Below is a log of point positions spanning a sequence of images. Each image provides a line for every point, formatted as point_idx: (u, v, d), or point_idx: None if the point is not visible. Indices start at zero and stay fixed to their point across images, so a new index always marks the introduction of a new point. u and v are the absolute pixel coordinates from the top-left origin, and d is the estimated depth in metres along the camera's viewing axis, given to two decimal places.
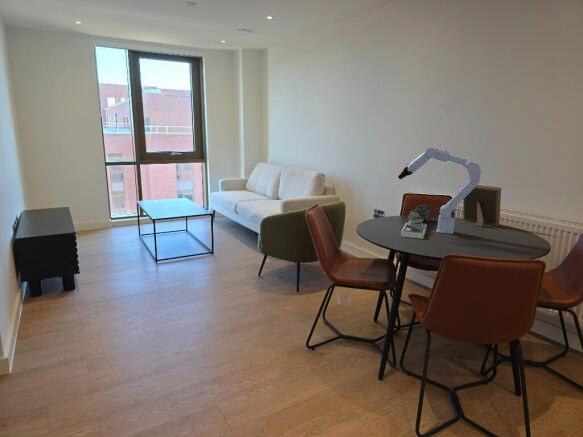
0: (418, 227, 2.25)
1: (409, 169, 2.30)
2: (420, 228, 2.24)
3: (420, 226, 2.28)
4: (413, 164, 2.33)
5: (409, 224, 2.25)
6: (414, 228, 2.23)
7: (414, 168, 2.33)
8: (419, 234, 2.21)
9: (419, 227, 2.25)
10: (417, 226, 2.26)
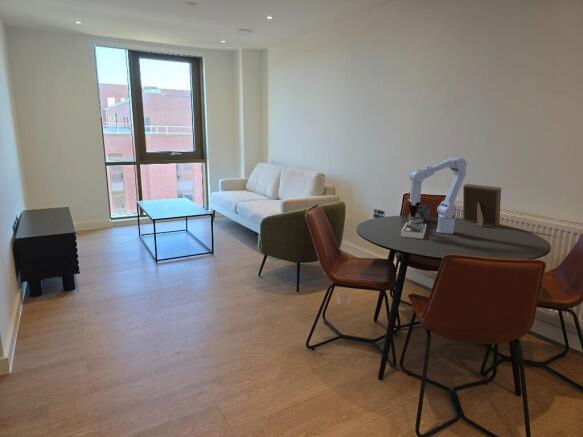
0: (418, 227, 2.25)
1: (413, 203, 2.23)
2: (420, 228, 2.24)
3: (420, 226, 2.28)
4: (413, 196, 2.27)
5: (409, 224, 2.25)
6: (414, 228, 2.23)
7: (416, 199, 2.26)
8: (419, 234, 2.21)
9: (419, 227, 2.25)
10: (417, 226, 2.26)
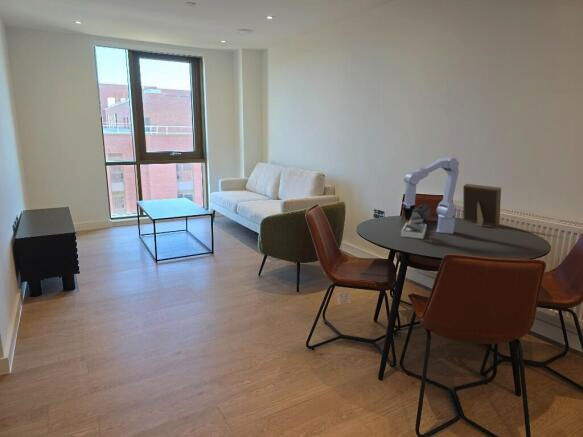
0: (418, 227, 2.25)
1: (407, 206, 2.19)
2: (420, 228, 2.24)
3: (420, 226, 2.28)
4: (407, 199, 2.23)
5: (409, 224, 2.25)
6: (414, 228, 2.23)
7: (411, 201, 2.22)
8: (419, 234, 2.21)
9: (419, 227, 2.25)
10: (417, 226, 2.26)
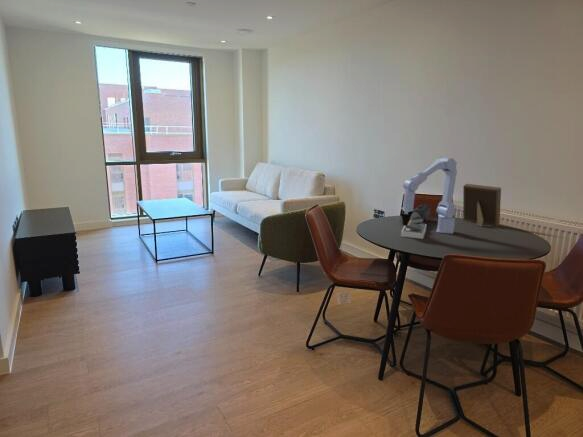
0: (418, 227, 2.25)
1: (406, 212, 2.20)
2: (420, 227, 2.24)
3: (420, 225, 2.28)
4: (406, 205, 2.24)
5: (409, 224, 2.25)
6: (414, 228, 2.23)
7: (409, 207, 2.23)
8: (419, 234, 2.21)
9: (419, 227, 2.25)
10: (417, 226, 2.26)
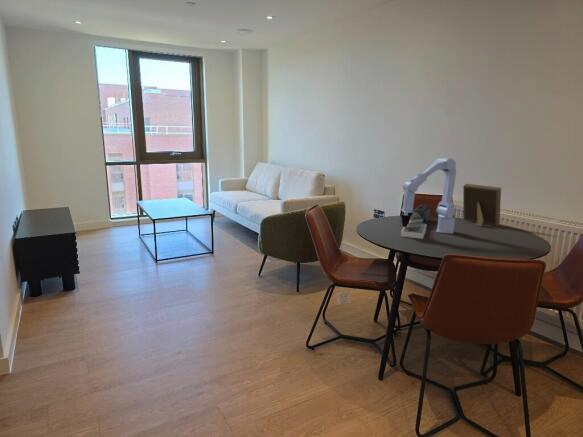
0: (417, 225, 2.25)
1: (405, 213, 2.20)
2: (419, 225, 2.24)
3: (419, 224, 2.28)
4: (405, 206, 2.24)
5: (408, 226, 2.26)
6: (413, 227, 2.23)
7: (409, 209, 2.23)
8: (419, 234, 2.21)
9: (418, 225, 2.25)
10: (416, 225, 2.26)
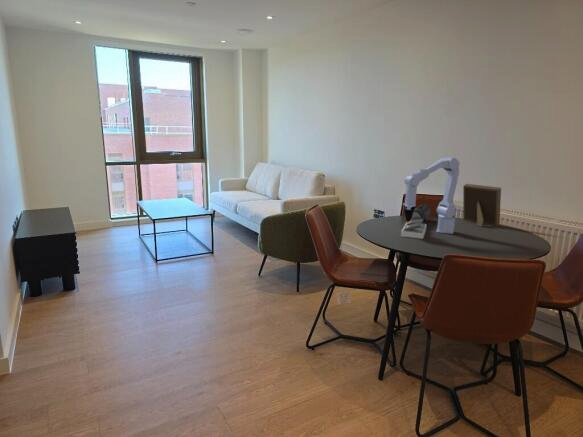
0: (416, 224, 2.25)
1: (408, 208, 2.20)
2: (419, 224, 2.24)
3: (419, 222, 2.28)
4: (408, 201, 2.24)
5: (407, 227, 2.26)
6: (413, 227, 2.23)
7: (412, 203, 2.23)
8: (419, 234, 2.21)
9: (418, 224, 2.25)
10: (415, 224, 2.26)
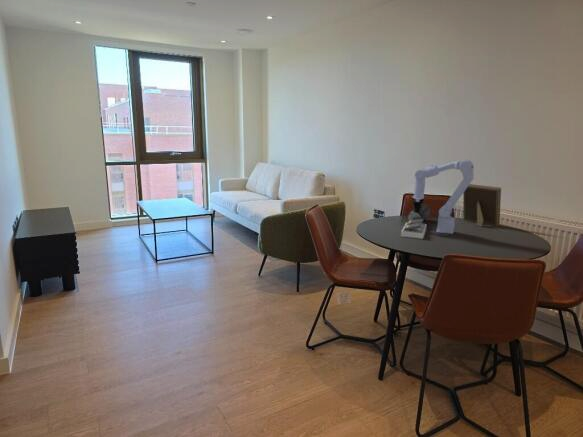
0: (417, 225, 2.25)
1: (417, 200, 2.34)
2: (419, 224, 2.24)
3: (419, 223, 2.28)
4: (417, 193, 2.38)
5: (407, 226, 2.26)
6: (413, 227, 2.23)
7: (420, 195, 2.37)
8: (419, 234, 2.21)
9: (418, 224, 2.25)
10: (416, 224, 2.26)
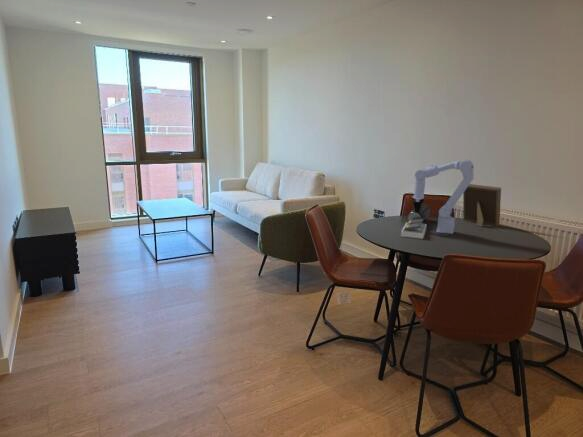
0: (417, 225, 2.25)
1: (417, 200, 2.34)
2: (419, 225, 2.24)
3: (419, 223, 2.28)
4: (417, 193, 2.38)
5: (407, 226, 2.26)
6: (413, 227, 2.23)
7: (420, 195, 2.37)
8: (419, 234, 2.21)
9: (418, 224, 2.25)
10: (416, 224, 2.26)
